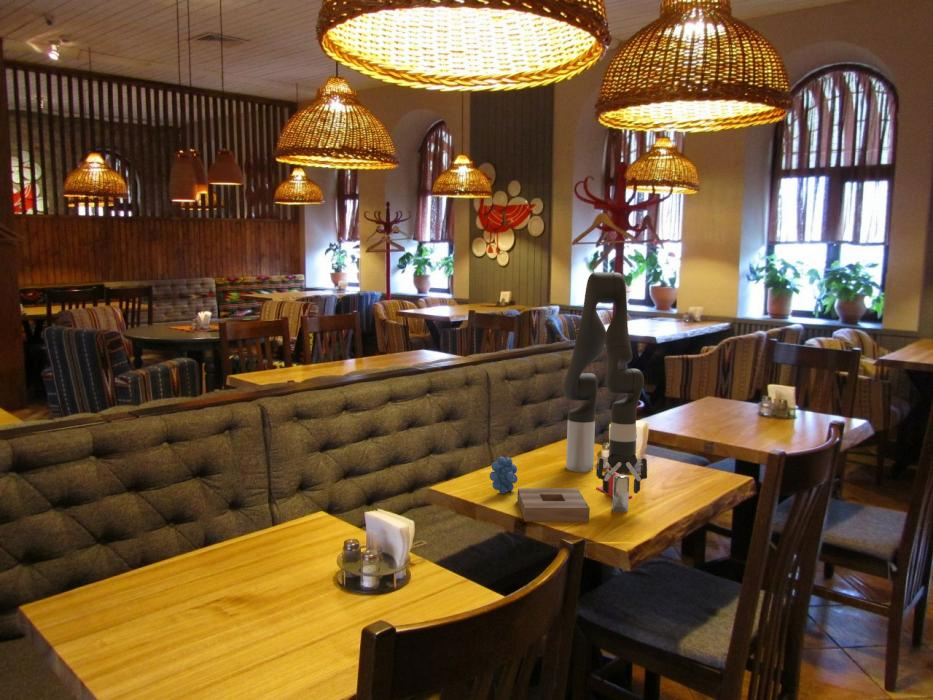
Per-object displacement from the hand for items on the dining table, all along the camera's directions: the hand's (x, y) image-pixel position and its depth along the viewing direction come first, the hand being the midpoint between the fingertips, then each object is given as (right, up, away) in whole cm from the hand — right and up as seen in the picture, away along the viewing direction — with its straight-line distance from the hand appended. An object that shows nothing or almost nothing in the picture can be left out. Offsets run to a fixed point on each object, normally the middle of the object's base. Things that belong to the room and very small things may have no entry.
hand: (620, 492), depth 223 cm
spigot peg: (0, -5, +1) cm, 5 cm away
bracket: (+1, -4, +16) cm, 16 cm away
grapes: (-33, -3, +14) cm, 36 cm away
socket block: (-20, -5, -1) cm, 21 cm away
